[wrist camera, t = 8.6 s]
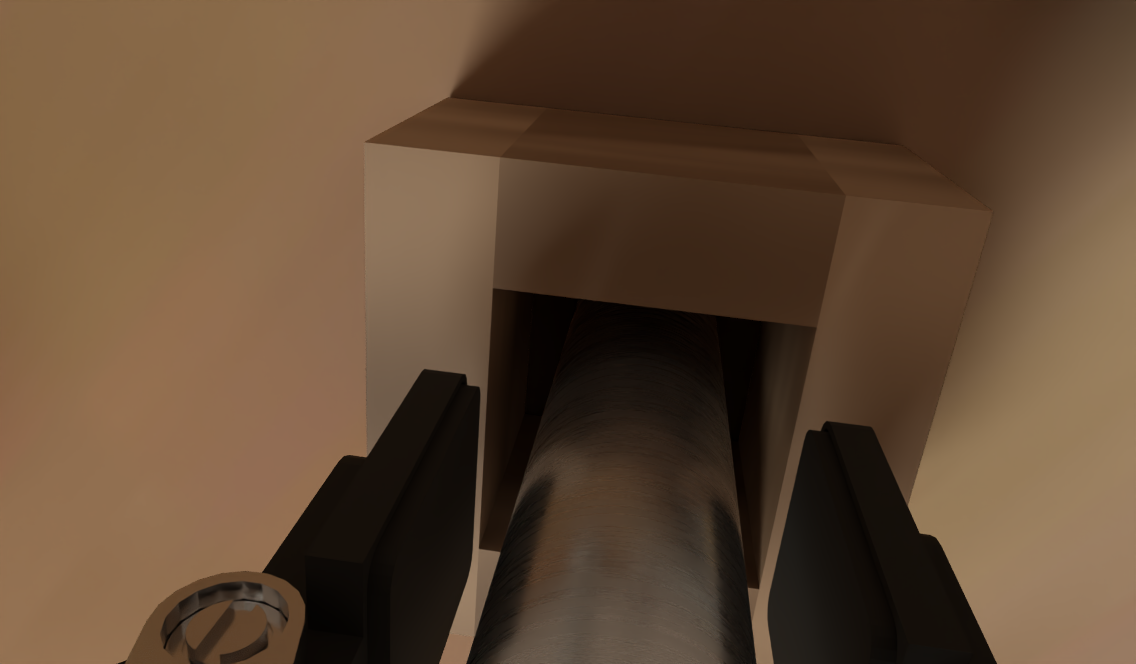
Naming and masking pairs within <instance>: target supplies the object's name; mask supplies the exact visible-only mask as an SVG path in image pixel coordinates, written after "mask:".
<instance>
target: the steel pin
mask: <svg viewBox="0 0 1136 664" xmlns="http://www.w3.org/2000/svg"><path fill="white" fill-rule="evenodd" d="M466 664H757V663H756V654H755V646H754V637H753V629H752V620H751V611H750V603H749V594H748V586H747V577H746V569H745V560H744V551H743V543H742V534H741V526H740V517H739V509H738V500H737V491H736V483H735V474H734V466H733V457H732V449H731V440H730V431H729V423H728V414H727V406H726V397H725V389H724V380H723V371H722V363H721V354H720V346H719V337H718V329H717V320H716V315H710V314H702V313H693V312H685V311H677V310H669V309H661V308H652V307H644V306H636V305H628V304H619V303H611V302H603V301H595V300H587V299H579V300H578V302H577V304H576V307H575V311H574V314H573V317H572V320H571V324H570V327H569V330H568V333H567V337H566V340H565V343H564V346H563V350H562V353H561V356H560V360H559V363H558V366H557V369H556V373H555V376H554V379H553V382H552V386H551V389H550V392H549V396H548V399H547V402H546V405H545V409H544V412H543V415H542V418H541V422H540V425H539V428H538V431H537V435H536V438H535V441H534V445H533V448H532V451H531V454H530V458H529V461H528V464H527V467H526V471H525V474H524V477H523V480H522V484H521V487H520V490H519V494H518V497H517V500H516V503H515V507H514V510H513V513H512V516H511V520H510V523H509V526H508V529H507V533H506V536H505V539H504V543H503V546H502V549H501V552H500V556H499V559H498V562H497V565H496V569H495V572H494V575H493V578H492V582H491V585H490V588H489V592H488V595H487V598H486V601H485V605H484V608H483V611H482V614H481V618H480V621H479V624H478V628H477V631H476V634H475V637H474V641H473V644H472V647H471V650H470V654H469V657H468V660H467V663H466Z"/></svg>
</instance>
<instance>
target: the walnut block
mask: <svg viewBox="0 0 1136 664" xmlns="http://www.w3.org/2000/svg"><path fill="white" fill-rule="evenodd" d="M364 209H365V313H366V416H367V456H368V455H369V453H370V452H371V450H372V448H373V447H374V445H375V444H376V442H377V441H378V439H379V438H380V436H381V434H382V433H383V431H384V430H385V428H386V427H387V425H388V423H389V422H390V420H391V419H392V417H393V416H394V414H395V412H396V411H397V409H398V408H399V406H400V405H401V403H402V401H403V400H404V398H405V397H406V395H407V394H408V392H409V390H410V389H411V387H412V386H413V384H414V383H415V381H416V379H417V378H418V376H419V375H420V373H421V372H422V371H423V369H429V370H437V371H445V372H453V373H460V374H466V377H467V385H470V386H478V387H480V393H481V397H480V418H479V438H478V458H477V478H476V497H475V517H474V537H473V554H472V562H471V567H470V572H469V576H468V580H467V583H466V586H465V589H464V592H463V595H462V598H461V601H460V603H459V606H458V609H457V612H456V615H455V618H454V621H453V624H452V627H451V630H450V634H456V635H463V636H470V637H475V634H476V631H477V628H478V624H479V621H480V618H481V614H482V611H483V608H484V605H485V601H486V598H487V595H488V592H489V588H490V585H491V582H492V578H493V575H494V572H495V569H496V565H497V562H498V559H499V556H500V552H501V549H502V546H503V543H504V539H505V536H506V533H507V529H508V526H509V523H510V520H511V516H512V513H513V510H514V507H515V503H516V500H517V497H518V494H519V490H520V487H521V484H522V480H523V477H524V474H525V471H526V467H527V464H528V461H529V458H530V454H531V451H532V448H533V445H534V441H535V438H536V435H537V431H538V428H539V425H540V422H541V418H542V416H536V415H529V414H525V401H526V387H527V374H528V361H529V347H530V334H531V320H532V307H533V294H534V293H537V294H545V295H554V296H562V297H570V298H578V299H587V300H595V301H603V302H611V303H619V304H628V305H636V306H644V307H652V308H661V309H669V310H677V311H685V312H693V313H702V314H710V315H718V316H726V317H735V318H743V319H751V320H759V321H762V322H761V327H760V332H759V337H758V343H757V348H756V353H755V358H754V363H753V369H752V374H751V379H750V384H749V390H748V395H747V400H746V405H745V410H744V416H743V421H742V426H741V431H740V437H739V442H733V441H731V449H732V457H733V466H734V474H735V483H736V491H737V500H738V509H739V517H740V526H741V534H742V543H743V551H744V560H745V569H746V577H747V586H748V594H749V603H750V611H751V620H752V629H753V637H754V646H755V654H756V663H757V664H774V663H773V656H772V649H771V642H770V635H769V629H768V620H767V610H768V598H769V593H770V588H771V584H772V579H773V575H774V571H775V566H776V562H777V557H778V553H779V549H780V544H781V540H782V535H783V531H784V527H785V522H786V518H787V513H788V509H789V505H790V500H791V496H792V491H793V487H794V483H795V478H796V474H797V469H798V465H799V460H800V456H801V452H802V447H803V443H804V439H805V436H806V433H807V431H808V430H816V431H821V428H822V426H823V424H824V423H825V422H826V421H832V422H840V423H847V424H855V425H863V426H870V427H872V428H873V430H874V432H875V434H876V436H877V439H878V441H879V443H880V445H881V448H882V450H883V452H884V454H885V457H886V459H887V461H888V463H889V466H890V468H891V470H892V472H893V475H894V477H895V479H896V481H897V484H898V486H899V488H900V490H901V493H902V495H903V497H904V499H905V502H906V504H907V506H908V503H909V499H910V496H911V492H912V489H913V485H914V482H915V479H916V475H917V472H918V468H919V465H920V462H921V458H922V455H923V451H924V448H925V445H926V441H927V438H928V434H929V431H930V427H931V424H932V421H933V417H934V414H935V410H936V407H937V404H938V400H939V397H940V393H941V390H942V387H943V383H944V380H945V376H946V373H947V369H948V366H949V363H950V359H951V356H952V352H953V349H954V346H955V342H956V339H957V335H958V332H959V329H960V325H961V322H962V318H963V315H964V311H965V308H966V305H967V301H968V298H969V294H970V291H971V288H972V284H973V281H974V277H975V274H976V271H977V267H978V264H979V260H980V257H981V254H982V250H983V247H984V243H985V240H986V236H987V233H988V230H989V226H990V223H991V219H992V216H993V213H994V212H993V211H992V210H991V209H989V208H988V207H986V206H985V205H984V204H982V203H981V202H980V201H978V200H977V199H975V198H974V197H973V196H971V195H970V194H969V193H967V192H966V191H964V190H963V189H962V188H960V187H959V186H958V185H956V184H955V183H953V182H952V181H951V180H949V179H948V178H947V177H945V176H944V175H943V174H941V173H940V172H938V171H937V170H936V169H934V168H933V167H932V166H930V165H929V164H927V163H926V162H925V161H923V160H922V159H921V158H919V157H918V156H916V155H915V154H914V153H912V152H911V151H910V150H908V149H907V148H906V147H904V146H903V145H893V144H884V143H874V142H865V141H855V140H846V139H837V138H827V137H818V136H808V135H799V134H789V133H780V132H770V131H761V130H751V129H742V128H733V127H723V126H714V125H704V124H695V123H685V122H676V121H666V120H657V119H647V118H638V117H629V116H619V115H610V114H600V113H591V112H581V111H572V110H562V109H553V108H543V107H534V106H524V105H515V104H506V103H496V102H487V101H477V100H468V99H458V98H449V97H448V98H446V99H444V100H442V101H440V102H439V103H437V104H435V105H433V106H431V107H429V108H427V109H425V110H424V111H422V112H420V113H418V114H416V115H414V116H412V117H410V118H409V119H407V120H405V121H403V122H401V123H399V124H397V125H395V126H394V127H392V128H390V129H388V130H386V131H384V132H382V133H380V134H378V135H377V136H375V137H373V138H371V139H369V140H367V141H365V142H364Z"/></svg>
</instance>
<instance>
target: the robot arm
mask: <svg viewBox="0 0 1136 664" xmlns="http://www.w3.org/2000/svg"><path fill="white" fill-rule="evenodd" d="M480 397H481V393H480V387H478V386H470V385H467V377H466V374H460V373H453V372H445V371H437V370H429V369H423V371H422V372H421V373H420V375H419V376H418V378H417V379H416V381H415V383H414V384H413V386H412V387H411V389H410V390H409V392H408V394H407V395H406V397H405V398H404V400H403V401H402V403H401V405H400V406H399V408H398V409H397V411H396V412H395V414H394V416H393V417H392V419H391V420H390V422H389V423H388V425H387V427H386V428H385V430H384V431H383V433H382V434H381V436H380V438H379V439H378V441H377V442H376V444H375V445H374V447H373V448H372V450H371V452H370V453H369V455H368V456H367V458H366V457H359V456H352V455H347V456H344V457H343V458H342V459H341V460H340V461H339V462H338V463H337V465H336V466H335V468H334V469H333V470H332V472H331V473H330V475H329V476H328V478H327V479H326V481H325V482H324V484H323V485H322V486H321V488H320V489H319V491H318V492H317V494H316V495H315V497H314V498H313V499H312V501H311V502H310V504H309V505H308V507H307V508H306V510H305V511H304V513H303V514H302V515H301V517H300V518H299V520H298V521H297V523H296V524H295V526H294V527H293V528H292V530H291V531H290V533H289V534H288V536H287V537H286V539H285V540H284V542H283V543H282V544H281V546H280V547H279V549H278V550H277V552H276V553H275V555H274V556H273V557H272V559H271V560H270V562H269V563H268V565H267V566H266V568H265V569H264V571H263V572H262V573H258V572H249V571H241V572H230V573H221V574H218V575H214V576H210V577H207V578H203V579H200V580H197V581H195V582H193V583H191V584H189V585H187V586H185V587H183V588H181V589H179V590H177V591H175V592H174V593H173V594H172V595H170V596H169V597H168V598H167V599H165V600H164V601H163V602H161V603H160V604H159V605H158V606H157V608H156V609H155V610H154V612H153V613H152V614H151V616H150V617H149V618H148V620H147V621H146V623H145V625H144V627H143V629H142V631H141V633H140V635H139V637H138V639H137V641H136V643H135V645H134V647H133V649H132V651H131V653H130V655H129V657H128V659H127V660H126V661H123V662H121V663H118V664H439V662H440V659H441V656H442V653H443V650H444V648H445V645H446V642H447V639H448V636H449V633H450V630H451V627H452V624H453V621H454V618H455V615H456V612H457V609H458V606H459V603H460V601H461V598H462V595H463V592H464V589H465V586H466V583H467V580H468V576H469V572H470V567H471V562H472V554H473V537H474V517H475V497H476V478H477V458H478V438H479V418H480ZM767 620H768V629H769V635H770V642H771V649H772V656H773V663H774V664H997V663H996V661H995V658H994V656H993V654H992V652H991V650H990V648H989V646H988V644H987V642H986V639H985V637H984V635H983V633H982V631H981V629H980V627H979V625H978V623H977V620H976V618H975V616H974V614H973V612H972V610H971V608H970V606H969V603H968V601H967V599H966V597H965V595H964V593H963V591H962V589H961V587H960V584H959V582H958V580H957V578H956V576H955V574H954V572H953V570H952V568H951V565H950V563H949V561H948V559H947V557H946V555H945V553H944V551H943V548H942V546H941V545H940V543H939V542H938V540H937V539H936V538H935V537H933V536H931V535H927V534H920V533H919V531H918V529H917V526H916V524H915V522H914V520H913V517H912V515H911V513H910V511H909V508H908V506H907V504H906V502H905V499H904V497H903V495H902V493H901V490H900V488H899V486H898V484H897V481H896V479H895V477H894V475H893V472H892V470H891V468H890V466H889V463H888V461H887V459H886V457H885V454H884V452H883V450H882V448H881V445H880V443H879V441H878V439H877V436H876V434H875V432H874V430H873V428H872V427H870V426H863V425H855V424H847V423H840V422H832V421H826V422H825V423H824V424H823V426H822V428H821V431H816V430H808V431H807V433H806V436H805V439H804V443H803V447H802V452H801V456H800V460H799V465H798V469H797V474H796V478H795V483H794V487H793V491H792V496H791V500H790V505H789V509H788V513H787V518H786V522H785V527H784V531H783V535H782V540H781V544H780V549H779V553H778V557H777V562H776V566H775V571H774V575H773V579H772V584H771V588H770V593H769V598H768V610H767Z"/></svg>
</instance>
